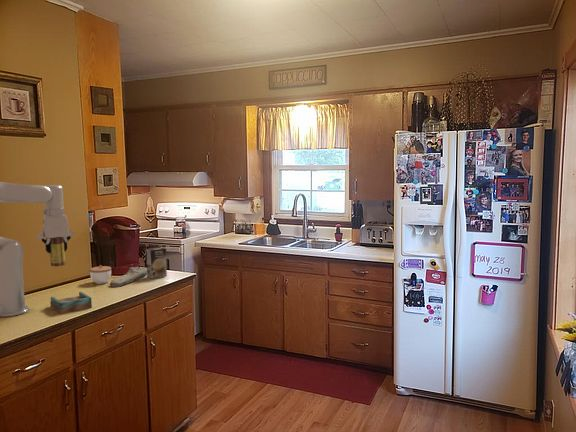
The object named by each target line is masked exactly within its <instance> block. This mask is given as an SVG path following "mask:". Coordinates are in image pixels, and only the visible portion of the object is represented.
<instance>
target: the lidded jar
mask: <svg viewBox="0 0 576 432" xmlns="http://www.w3.org/2000/svg"><path fill="white" fill-rule="evenodd" d="M89 275H90V279H91V280H92V282H94V283H95V284H97V285H103V284H104V285H105V284H107V283H108V281H109V280H110V279H111V277H112V267H111V266H108V265H107V266H106V265H104V266H103V265H101V264H99V266H94V267H91V268H89Z"/></svg>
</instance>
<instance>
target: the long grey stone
mask: <svg viewBox="0 0 576 432" xmlns="http://www.w3.org/2000/svg"><path fill="white" fill-rule="evenodd" d="M145 276H147V267H139V266H135V267H134V266H132V267H129V269H128V271H127V272H126V273H125V274H124V275H120V276H119V277H117V278H115V279H112V280H110V281H111V282H110V283H109V285H110V286H111V287H112V288H120V287H123V286H125V285H128V284H131V283H133V282H135V281H139V279H141V278H144V277H145Z"/></svg>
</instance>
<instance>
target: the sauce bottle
mask: <svg viewBox="0 0 576 432" xmlns="http://www.w3.org/2000/svg"><path fill="white" fill-rule="evenodd" d="M49 244H50V247H51V253H49V262H50V266H51V267H63V266H65V265H66V251H65V250H64V238H63V237H55V238H51V239H50V242H49Z"/></svg>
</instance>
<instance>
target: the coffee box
mask: <svg viewBox="0 0 576 432" xmlns="http://www.w3.org/2000/svg"><path fill="white" fill-rule="evenodd" d="M167 267H168V266H167V248H165V247H161V246H159V247H151V248H146V268H147V275H146V277H147V278H149V279H158V278H159V279H160V278H166V277H168V276H167V273H168V269H167Z"/></svg>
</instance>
